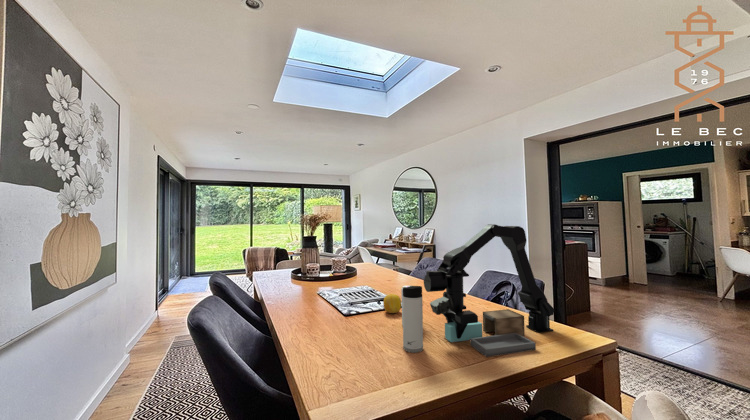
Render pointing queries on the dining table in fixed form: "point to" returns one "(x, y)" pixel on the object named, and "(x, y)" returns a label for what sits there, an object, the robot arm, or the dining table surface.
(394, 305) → the fruit
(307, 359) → the dining table surface
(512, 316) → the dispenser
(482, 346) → the tray
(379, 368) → the dining table surface
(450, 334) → the teal long block
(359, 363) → the dining table surface
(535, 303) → the robot arm
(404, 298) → the travel mug
